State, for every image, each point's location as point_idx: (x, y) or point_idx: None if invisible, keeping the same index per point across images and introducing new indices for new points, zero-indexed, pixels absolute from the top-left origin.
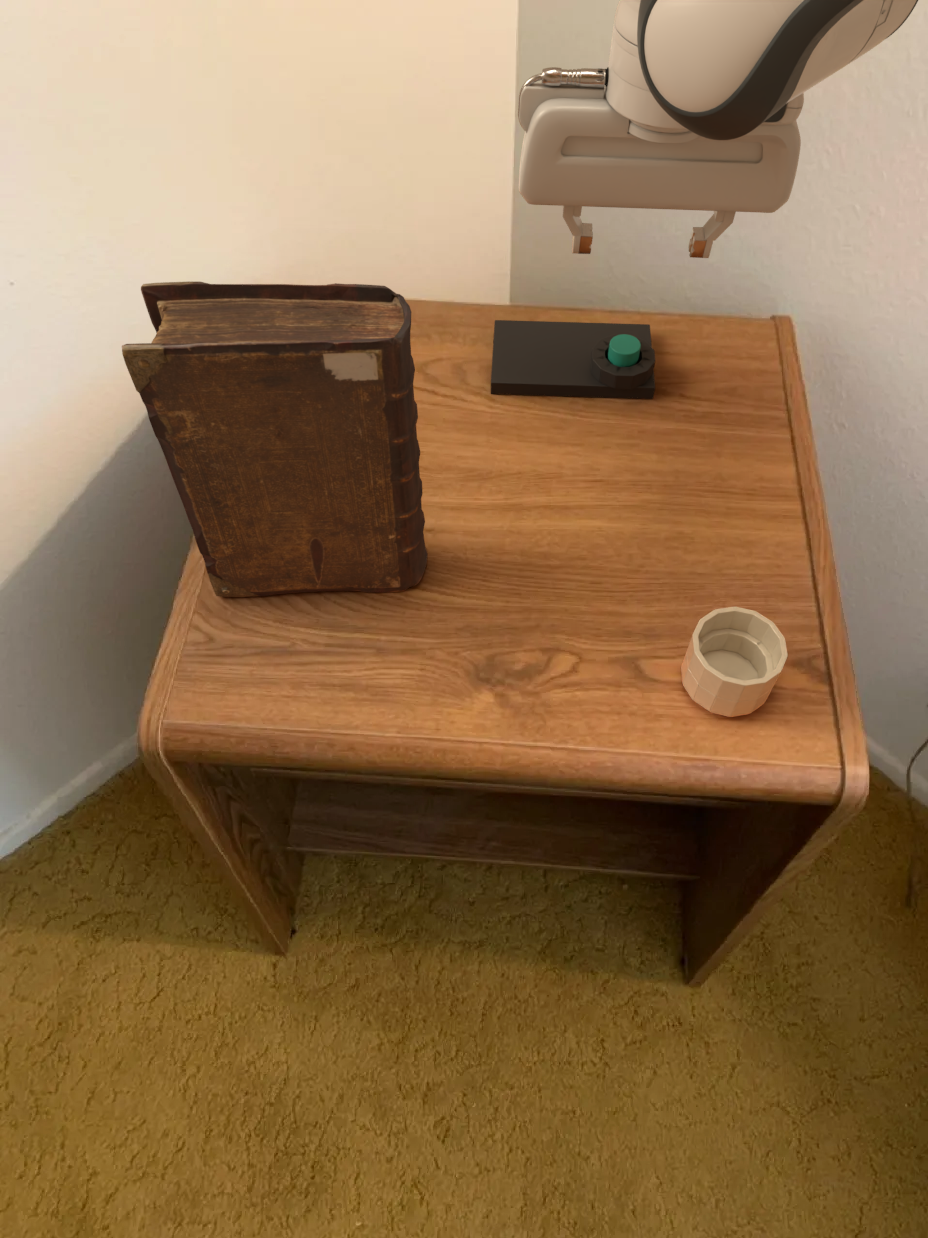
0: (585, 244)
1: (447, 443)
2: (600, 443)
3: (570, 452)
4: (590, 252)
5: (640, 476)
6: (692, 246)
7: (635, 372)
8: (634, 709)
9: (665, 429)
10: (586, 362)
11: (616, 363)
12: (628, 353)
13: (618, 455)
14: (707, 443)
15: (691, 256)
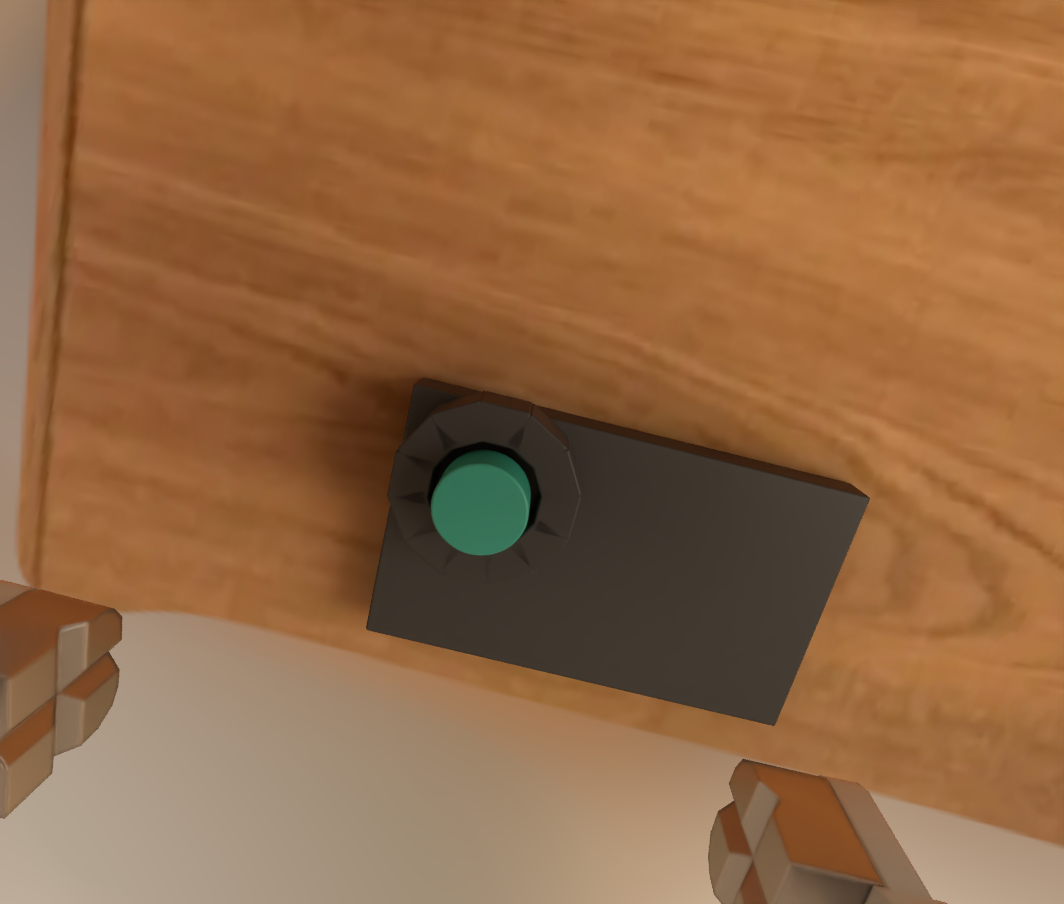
0: (811, 817)
1: (1037, 320)
2: (614, 233)
3: (709, 214)
4: (750, 762)
5: (540, 71)
6: (71, 672)
7: (469, 413)
8: None
9: (418, 253)
10: (579, 521)
11: (515, 463)
12: (481, 467)
13: (578, 173)
14: (314, 171)
15: (106, 608)
